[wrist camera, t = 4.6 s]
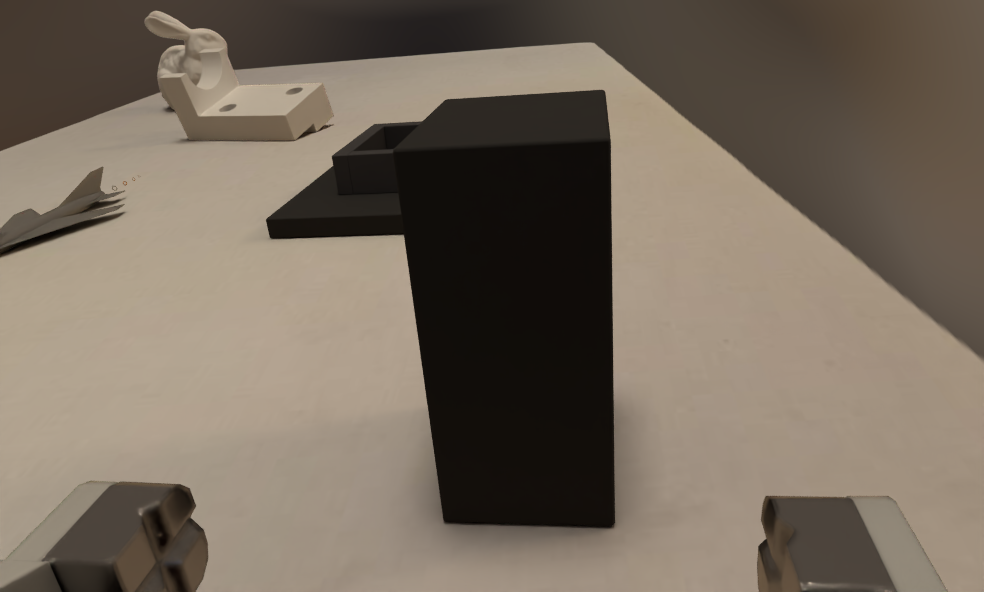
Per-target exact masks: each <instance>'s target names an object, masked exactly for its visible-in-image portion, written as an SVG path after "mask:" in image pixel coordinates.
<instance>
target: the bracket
mask: <svg viewBox="0 0 984 592" xmlns="http://www.w3.org/2000/svg"><path fill="white" fill-rule="evenodd" d="M199 55H200V58H201V63H202V74H201V78H200V81H199V83H198V84H197V85H195V84H194V83H193V82H192V81H191V80H190V78H189V77H188V75H187V73H176V74H165V75H163V76H162V77H160V80H161V82H162V84H163V87H164V89H165V91H166V93H167V95H168V97H169V99H170V101H171V103H172V105H173V107H174V110H175V112H176V114H177V116H178V118H179V120H180V122H181V124H182V126H183V128H184V130H185V132H186V135H187V137H188V139H189V140H283V141H295V140H296V139H297V138H298V137H299V136H300V135H302V134H303V133H304V132H317V131H318V130H319V129H320V128H321V127H322V126H324V125H325V124H326V123H327V122H328V121H329V120H330V119H331V118H332V117H333V116H334V115H333V112H332V109H331V106H330V103H329V100H328V97H327V94H326V91H325V88H324V85H323V83H306V84H273V85H239V83H238V80H237V78H236V75H235V73H234V70H233V68H232V66H231V63H230V61H229V58H228V56H227V53H226V51H225V48H215V49H204V50H202V51H201V52H199Z"/></svg>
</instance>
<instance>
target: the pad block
mask: <svg viewBox="0 0 984 592" xmlns="http://www.w3.org/2000/svg"><path fill="white" fill-rule="evenodd" d="M393 159H394V166H395V174H396V181H397V188H398V195H399V202H400V210H401V217H402V224H403V231H404V238H405V246H406V253H407V260H408V267H409V274H410V282H411V289H412V296H413V303H414V310H415V318H416V325H417V332H418V339H419V346H420V354H421V361H422V368H423V375H424V382H425V390H426V397H427V404H428V411H429V418H430V426H431V433H432V440H433V447H434V454H435V462H436V469H437V476H438V483H439V490H440V498H441V505H442V512H443V518H444V521H446V522H483V523H521V524H558V525H596V526H613V525H614V523H615V489H614V400H613V310H612V220H611V140H610V131H609V122H608V113H607V104H606V94H605V91H604V90H592V91H576V92H560V93H543V94H527V95H511V96H495V97H479V98H463V99H447V100H445V101H444V102H443V103H442V104H441V105H440V106H438V107H437V108H436V109H435V110H434V111H433V112H432V113H431V114H430V115H429V116H428V117H427V118H426V119H425V120H424V121H423V122H422V123H421V124H420V125H418V126H417V127H416V128H415V129H414V130H413V131H412V132H411V133H410V134H409V135H408V136H407V137H406V138H405V139H404V140H403V141H402V142H401V143H399V144H398V145H397V146H396V147H395V148H394V149H393Z"/></svg>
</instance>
